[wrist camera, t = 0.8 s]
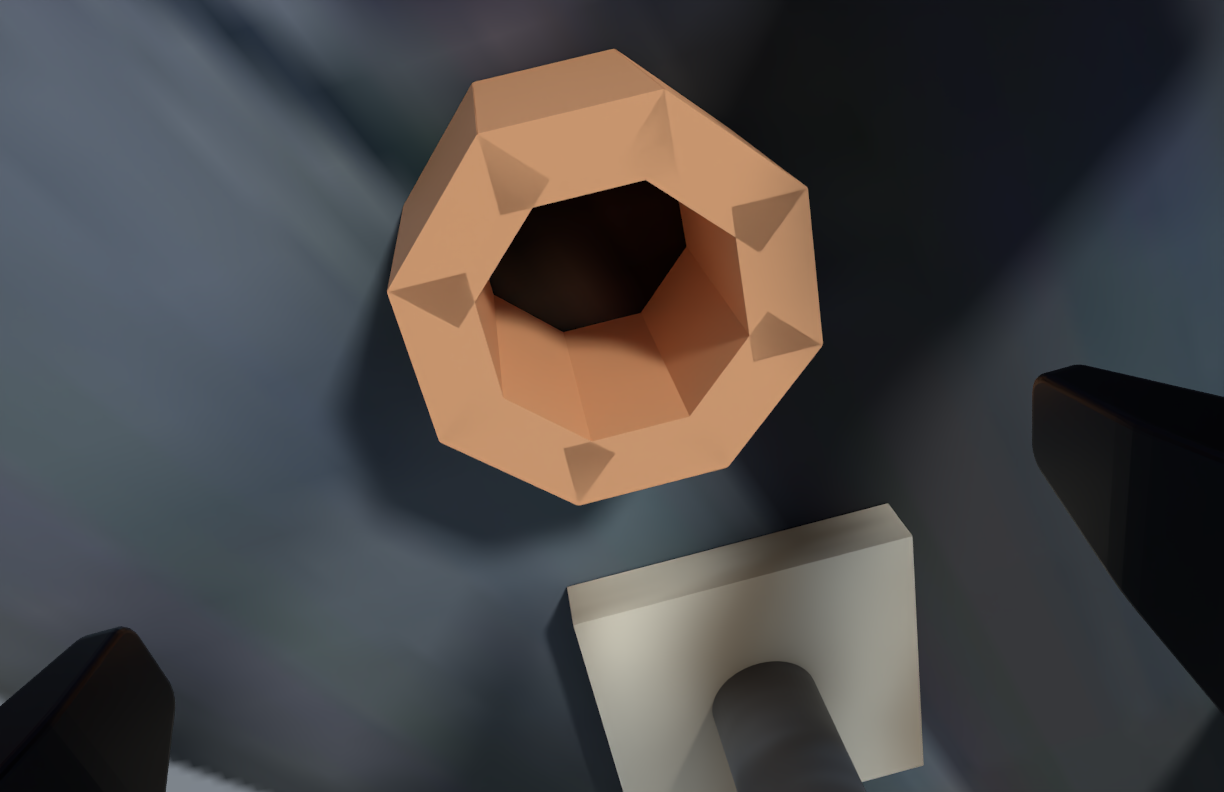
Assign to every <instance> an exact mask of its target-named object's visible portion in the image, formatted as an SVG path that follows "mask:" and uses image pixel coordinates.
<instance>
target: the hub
mask: <svg viewBox="0 0 1224 792" xmlns="http://www.w3.org/2000/svg"><path fill="white" fill-rule="evenodd" d="M644 180H646V181H648V182H650V183H651V184H653V185H654V186H656V187H657V188H659V189H661V190H662V191H664V192H665V193H667V194H668V195H670V196H671V197H673V198H675V199H676V200H678V201H679V206H680V212H681V218H682V223H683V229H684V235H685V241H686V248H685V249H684V251H683V252H682V254H681V255H680V257H679V258H678V259H677V261H676V262H675V264H674V265H673V267H672V268H671V270H670V271H669V273H668V274H667V275H666V277H665V278H664V280H663V281H662V283H661V284H660V286H659V287H658V289H657V290H656V291H655V293H654V294H653V296H652V297H651V299H650V300H649V302H648V303H647V305H646V306H645V307H644V309H643V310H642V312H641V313H638V314H634V315H630V316H626V317H622V318H618V319H614V320H610V321H606V322H602V323H598V324H594V325H590V326H586V327H582V328H578V329H574V330H570V331H566V332H562V331H560V330H558V329H557V328H555V327H553V326H551V325H549V324H547V323H546V322H544V321H542V320H540V319H538V318H536V317H534V316H533V315H531V314H529V313H527V312H525V311H523V310H521V309H520V308H518V307H516V306H514V305H512V304H510V303H508V302H507V301H505V300H503V299H501V298H499V297H497V296H495V295H494V294H493V291H492V288H491V284H490V281H489V278H490V276H491V275H492V273H493V272H494V270H495V268H496V267H497V265H498V263H499V262H500V260H501V258H502V257H503V255H504V254H505V252H506V250H507V249H508V247H509V245H510V244H511V242H512V241H513V239H514V237H515V236H516V234H517V232H518V231H519V229H520V228H521V226H522V224H523V223H524V221H525V219H526V218H527V216H528V214H529V213H530V211H531V210H532V208H533V207H538V206H542V205H546V204H550V203H554V202H558V201H562V200H566V199H570V198H574V197H578V196H582V195H587V194H591V193H595V192H599V191H603V190H607V189H611V188H615V187H619V186H623V185H627V184H631V183H636V182H640V181H644ZM387 294H388V297H389V299H390V302H391V305H392V308H393V311H394V314H395V317H396V319H397V322H398V325H399V328H400V331H401V334H402V336H403V339H404V342H405V345H406V348H407V351H408V354H409V356H410V359H411V362H412V365H413V368H414V371H415V374H416V376H417V379H418V382H419V385H420V388H421V391H422V394H423V396H424V399H425V402H426V405H427V408H428V411H429V414H430V416H431V419H432V422H433V425H434V428H435V431H436V434H437V436H438V439H439V442H440V443H443V444H445V445H447V446H449V447H451V448H453V449H456V450H458V451H460V452H462V453H464V454H466V455H469V456H471V457H473V458H475V459H477V460H480V461H482V462H484V463H486V464H488V465H490V466H493V467H495V468H497V469H499V470H501V471H503V472H506V473H508V474H510V475H512V476H514V477H517V478H519V479H521V480H523V481H525V482H527V483H530V484H532V485H534V486H536V487H538V488H541V489H543V490H545V491H547V492H549V493H551V494H554V495H556V496H558V497H560V498H562V499H564V500H567V501H569V502H571V503H573V504H575V505H579V506H580V505H584V504H587V503H591V502H595V501H599V500H603V499H607V498H611V497H615V496H618V495H622V494H626V493H630V492H634V491H638V490H642V489H646V488H650V487H653V486H657V485H661V484H665V483H669V482H673V481H677V480H681V479H684V478H688V477H692V476H696V475H700V474H704V473H708V472H712V471H715V470H719V469H723V468H727V467H728V466H729V465H730V464H731V463H732V461H733V460H734V459H735V457H736V456H737V455H738V454H739V452H740V451H741V450H742V448H743V447H744V446H745V445H746V443H747V442H748V441H749V439H750V438H751V437H752V436H753V434H754V433H755V432H756V430H757V429H758V428H759V427H760V425H761V424H762V423H763V421H764V420H765V419H766V418H767V416H768V415H769V414H770V412H771V411H772V410H773V409H774V407H775V406H776V405H777V403H778V402H779V401H780V400H781V398H782V397H783V396H784V394H785V393H786V392H787V391H788V389H789V388H790V387H791V385H792V384H793V383H794V382H795V380H796V379H797V378H798V376H799V375H800V374H801V373H802V371H803V370H804V369H805V367H806V366H807V365H808V364H809V362H810V361H811V360H812V358H813V357H814V356H815V355H816V353H817V352H818V351H819V349H820V348H821V347H822V346H823V345H822V344H823V339H822V328H821V318H820V308H819V297H818V287H817V276H816V266H815V256H814V245H813V235H812V225H811V214H810V204H809V194H808V188H807V187H806V186H805V185H804V184H802V183H801V182H800V181H798V180H797V179H796V178H794V177H793V176H792V175H790V174H789V173H788V172H787V171H785V170H784V169H783V168H781V167H780V166H779V165H777V164H776V163H775V162H773V161H772V160H771V159H769V158H768V157H767V156H765V155H764V154H763V153H761V152H760V151H759V150H757V149H756V148H755V147H753V146H752V145H751V144H749V143H748V142H747V141H745V140H744V139H743V138H742V137H740V136H739V135H738V134H736V133H735V132H734V131H732V130H731V129H730V128H728V127H727V126H725V125H724V124H723V123H721V122H720V121H718V120H717V119H715V118H714V117H712V116H711V115H710V114H708V113H707V112H705V111H704V110H702V109H701V108H699V107H698V106H697V105H695V104H694V103H692V102H691V101H689V100H688V99H687V98H685V97H684V96H682V95H681V94H679V93H678V92H676V91H675V90H674V89H672V88H671V87H669V86H668V85H666V84H665V83H663V82H662V81H661V80H659V79H658V78H656V77H655V76H653V75H652V74H650V73H649V72H648V71H646V70H645V69H643V68H642V67H640V66H639V65H637V64H636V63H635V62H633V61H632V60H630V59H629V58H627V57H626V56H624V55H623V54H622V53H620V52H619V51H617V50H616V49H610V50H606V51H602V52H598V53H594V54H589V55H585V56H581V57H577V58H573V59H568V60H564V61H560V62H556V63H552V64H548V65H543V66H539V67H535V68H531V69H527V70H522V71H518V72H514V73H510V74H506V75H502V76H497V77H493V78H489V79H485V80H481V81H476V82H473V83H472V84H471V86H470V88H469V89H468V91H467V93H466V95H465V97H464V98H463V100H462V102H461V104H460V106H459V107H458V109H457V111H456V113H455V114H454V116H453V118H452V120H451V122H450V123H449V125H448V127H447V129H446V131H445V132H444V134H443V136H442V138H441V140H440V141H439V143H438V145H437V147H436V148H435V150H434V152H433V154H432V156H431V157H430V159H429V161H428V163H427V165H426V166H425V168H424V170H423V172H422V173H421V175H420V177H419V179H418V181H417V182H416V184H415V186H414V188H413V190H412V191H411V193H410V195H409V197H408V198H407V200H406V202H405V204H404V206H403V211H402V216H401V221H400V226H399V232H398V237H397V242H396V247H395V252H394V258H393V263H392V268H391V273H390V278H389V284H388V289H387Z"/></svg>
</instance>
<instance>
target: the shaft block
mask: <svg viewBox="0 0 1224 792" xmlns="http://www.w3.org/2000/svg"><path fill="white" fill-rule="evenodd" d="M567 590H568V596H569V602H570V608H571V614H572V620H573V626H574V629H575V632H576V636H577V639H578V643H579V646H580V649H581V653H582V656H583V659H584V663H585V666H586V669H587V673H588V676H589V679H590V683H591V686H592V689H593V693H594V696H595V699H596V703H597V706H598V709H599V713H600V716H601V719H602V723H603V726H604V729H605V733H606V736H607V739H608V743H609V746H610V749H611V753H612V756H613V759H614V763H615V766H616V769H617V773H618V776H619V780H620V783H621V786H622V790H623V792H866V790H865V788H864V786H863V784H862V782H864V781H868V780H871V779H875V778H879V777H882V776H886V775H890V774H893V773H897V772H901V771H904V770H908V769H912V768H915V767H919V766H923V746H922V725H921V705H920V684H919V663H918V642H917V621H916V601H915V580H914V559H913V538H912V535H911V533H910V532H909V531H908V529H907V528H906V527H905V525H904V524H903V523H902V521H901V520H900V519H899V517H898V516H897V515H896V513H895V512H894V511H893V509H892V508H891V507H890V505H889V504H888V503H887V504H883V505H879V506H875V507H872V508H868V509H864V510H860V511H856V512H852V513H849V514H845V515H841V516H837V517H833V518H830V519H826V520H822V521H818V522H814V523H810V524H807V525H803V526H799V527H795V528H791V529H787V530H784V531H780V532H776V533H772V534H768V535H764V536H761V537H757V538H753V539H749V540H745V541H741V542H738V543H734V544H730V545H726V546H722V547H718V548H715V549H711V550H707V551H703V552H699V553H695V554H692V555H688V556H684V557H680V558H676V559H673V560H669V561H665V562H661V563H657V564H653V565H650V566H646V567H642V568H638V569H634V570H630V571H627V572H623V573H619V574H615V575H611V576H607V577H604V578H600V579H596V580H592V581H588V582H584V583H581V584H577V585H573V586H569V587H567Z"/></svg>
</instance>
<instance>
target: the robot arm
mask: <svg viewBox="0 0 1224 792" xmlns="http://www.w3.org/2000/svg"><path fill="white" fill-rule="evenodd" d="M1032 447H1033V453H1034V457H1035V460H1036V462H1037V465H1038V467H1039V469H1040V470H1041V472H1042V474H1043V475H1044V477H1045V478H1046V480H1047V481H1048V483H1049V484H1050V486H1051V487H1052V489H1053V490H1054V492H1055V493H1056V495H1057V496H1058V498H1059V499H1060V501H1061V502H1062V504H1063V505H1064V507H1065V508H1066V510H1067V511H1068V513H1069V515H1070V516H1071V518H1072V519H1073V521H1074V522H1075V524H1076V525H1077V527H1078V528H1079V530H1080V531H1081V533H1082V534H1083V536H1084V537H1085V539H1086V540H1087V542H1088V543H1089V545H1090V546H1091V548H1092V549H1093V551H1094V552H1095V554H1096V555H1097V557H1098V558H1099V560H1100V561H1101V563H1102V564H1103V566H1104V568H1105V569H1106V571H1107V572H1108V573H1109V575H1110V576H1111V578H1112V579H1113V580H1114V582H1115V583H1116V585H1117V586H1118V588H1119V589H1120V590H1121V592H1122V593H1123V594H1124V596H1125V597H1126V598H1127V599H1128V601H1129V602H1130V603H1131V604H1132V606H1133V607H1134V608H1135V609H1136V611H1137V612H1138V613H1139V614H1140V615H1141V617H1142V618H1143V619H1144V620H1145V621H1146V623H1147V624H1148V625H1149V626H1150V627H1151V629H1152V630H1153V631H1154V632H1155V633H1156V635H1157V636H1158V637H1159V638H1160V639H1161V641H1162V642H1163V643H1164V644H1165V645H1166V647H1167V648H1168V649H1169V650H1170V651H1171V653H1172V654H1173V655H1174V656H1175V657H1176V659H1177V660H1178V661H1179V662H1180V663H1181V665H1182V666H1183V667H1184V668H1185V669H1186V671H1187V672H1188V673H1189V674H1190V675H1191V677H1192V678H1193V679H1194V680H1195V681H1196V683H1197V684H1198V685H1199V686H1200V687H1201V689H1202V690H1203V691H1204V692H1205V693H1206V695H1207V696H1208V697H1209V698H1210V699H1211V701H1212V702H1213V703H1214V704H1215V705H1216V707H1217V708H1218V709H1219V710H1220V711H1221V713H1222V714H1223V715H1224V397H1222V396H1217V395H1213V394H1209V393H1204V392H1200V391H1195V390H1191V389H1187V388H1182V387H1178V386H1174V385H1169V384H1165V383H1160V382H1156V381H1152V380H1147V379H1143V378H1138V377H1134V376H1130V375H1125V374H1121V373H1117V372H1112V371H1108V370H1103V369H1099V368H1095V367H1090V366H1086V365H1072V366H1069V367H1065V368H1061V369H1058V370H1054V371H1051V372H1047V373H1043V374H1041V375H1040V376H1039V377H1038V378H1037V379H1036V380H1035V382H1034V385H1033V392H1032ZM174 715H175V697H174V692H173V689H172V687H171V684H170V682H169V680H168V679H167V677H166V676H165V674H164V673H163V671H162V670H161V668H160V667H159V665H158V664H157V663H156V661H155V660H154V658H153V657H152V655H151V654H150V652H149V651H148V649H147V648H146V646H145V645H144V643H143V642H142V640H141V639H140V637H139V636H138V635H137V634H136V632H134V631H133V630H131V629H130V628H127V627H122V626H121V627H116V628H112V629H108V630H105V631H101V632H97V633H94V634H90V635H87V636H84V637H82V638H80V639H79V640H77V641H76V642H75V643H74V644H72V645H71V646H70V647H69V648H68V649H67V650H65V651H64V652H63V653H62V654H61V655H60V656H58V657H57V658H56V659H55V660H54V661H52V662H51V663H50V664H49V665H48V666H47V667H45V668H44V669H43V670H42V671H41V672H40V673H38V674H37V675H36V676H35V677H34V678H33V679H31V680H30V681H29V682H28V683H27V684H26V685H24V686H23V687H22V688H21V689H20V690H19V691H17V692H16V693H15V694H14V695H13V696H12V697H10V698H9V699H8V700H7V701H6V702H5V703H3V704H2V705H1V706H0V792H166V784H167V774H168V766H169V758H170V749H171V740H172V732H173V723H174Z"/></svg>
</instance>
